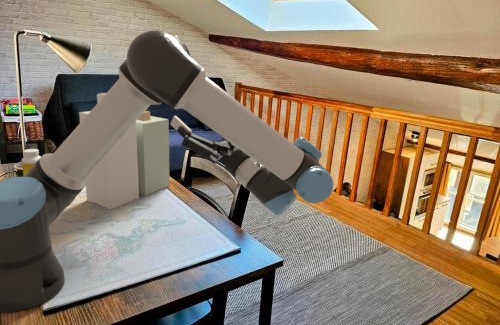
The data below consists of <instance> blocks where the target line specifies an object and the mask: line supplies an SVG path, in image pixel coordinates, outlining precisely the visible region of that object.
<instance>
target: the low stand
mask: <svg viewBox="0 0 500 325" xmlns="http://www.w3.org/2000/svg"><path fill="white" fill-rule="evenodd" d="M150 119H151V120H148V121H141V120H136V138H137V161H138V184H139V195H142V196H148V195H151V194H153V193H156V192H157V191H161V190H164V189H166V188H168V187H170V186H171V185H170V136H169V135H170V132H169V131H170V130H169V125H170V123H169V122H170V120H169V118H163V117H157V116H153V115H150Z"/></svg>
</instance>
